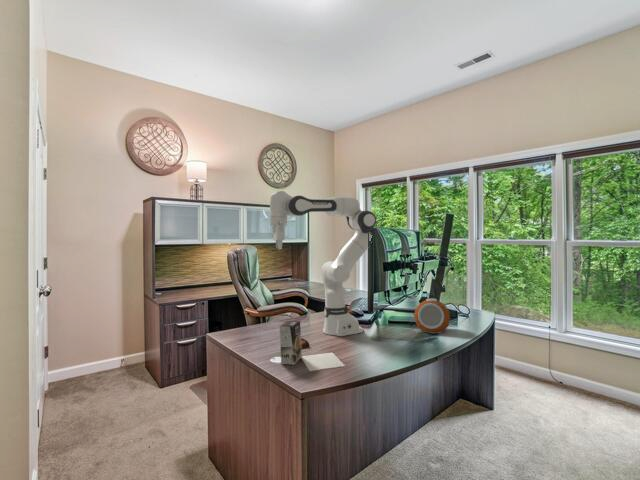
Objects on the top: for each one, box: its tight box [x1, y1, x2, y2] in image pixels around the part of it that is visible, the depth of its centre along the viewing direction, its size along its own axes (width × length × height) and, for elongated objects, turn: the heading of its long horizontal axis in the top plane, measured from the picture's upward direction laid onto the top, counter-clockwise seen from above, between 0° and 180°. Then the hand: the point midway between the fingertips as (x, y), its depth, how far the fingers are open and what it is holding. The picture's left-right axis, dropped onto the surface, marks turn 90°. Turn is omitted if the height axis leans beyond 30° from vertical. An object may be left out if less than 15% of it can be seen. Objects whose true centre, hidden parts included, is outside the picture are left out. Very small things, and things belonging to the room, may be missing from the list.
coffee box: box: [279, 320, 303, 366], centre depth 141 cm, size 9×6×16 cm
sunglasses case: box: [301, 336, 310, 350], centre depth 164 cm, size 18×7×7 cm, turn 29°
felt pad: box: [300, 352, 346, 372], centre depth 140 cm, size 15×16×1 cm
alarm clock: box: [413, 297, 451, 334], centre depth 184 cm, size 19×18×17 cm
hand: (278, 248), depth 172 cm, fingers open, 8 cm apart
